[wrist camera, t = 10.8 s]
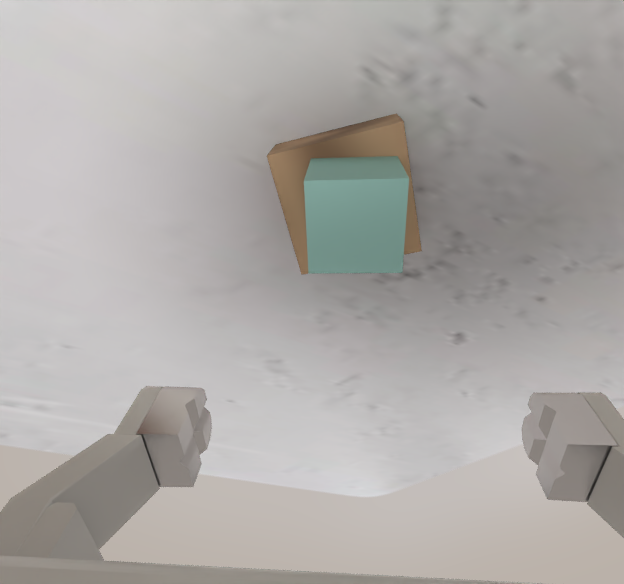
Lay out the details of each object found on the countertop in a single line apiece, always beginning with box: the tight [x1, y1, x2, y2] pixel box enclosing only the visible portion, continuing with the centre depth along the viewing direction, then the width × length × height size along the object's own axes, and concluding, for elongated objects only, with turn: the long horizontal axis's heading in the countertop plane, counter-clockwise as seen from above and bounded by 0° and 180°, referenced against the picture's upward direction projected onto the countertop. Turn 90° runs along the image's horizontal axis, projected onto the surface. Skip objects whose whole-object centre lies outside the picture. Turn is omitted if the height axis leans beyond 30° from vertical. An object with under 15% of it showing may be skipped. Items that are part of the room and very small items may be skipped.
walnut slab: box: [267, 114, 422, 274], centre depth 28 cm, size 8×8×4 cm
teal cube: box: [304, 156, 409, 273], centre depth 23 cm, size 5×5×5 cm
